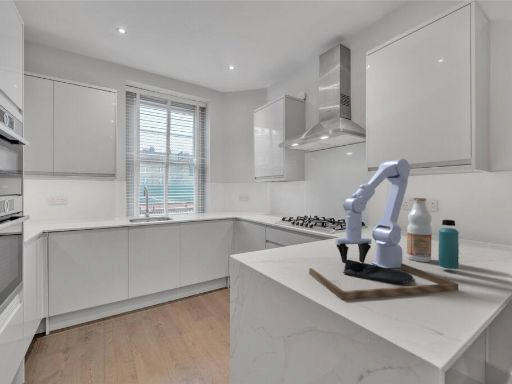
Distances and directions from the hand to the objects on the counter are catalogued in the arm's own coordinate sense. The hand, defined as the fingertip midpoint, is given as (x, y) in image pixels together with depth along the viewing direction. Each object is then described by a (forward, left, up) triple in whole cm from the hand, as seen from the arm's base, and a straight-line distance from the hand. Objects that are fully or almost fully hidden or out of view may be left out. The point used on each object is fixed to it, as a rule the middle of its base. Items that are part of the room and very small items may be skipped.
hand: (353, 262), depth 101 cm
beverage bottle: (-36, +8, -3) cm, 37 cm away
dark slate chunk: (-4, +9, -3) cm, 10 cm away
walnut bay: (0, +14, -2) cm, 15 cm away
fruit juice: (-38, -8, -3) cm, 39 cm away
